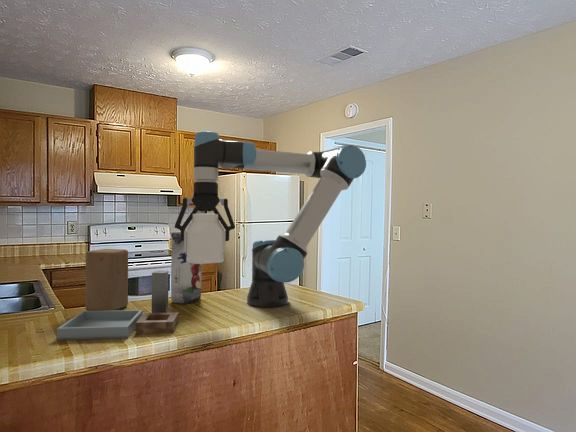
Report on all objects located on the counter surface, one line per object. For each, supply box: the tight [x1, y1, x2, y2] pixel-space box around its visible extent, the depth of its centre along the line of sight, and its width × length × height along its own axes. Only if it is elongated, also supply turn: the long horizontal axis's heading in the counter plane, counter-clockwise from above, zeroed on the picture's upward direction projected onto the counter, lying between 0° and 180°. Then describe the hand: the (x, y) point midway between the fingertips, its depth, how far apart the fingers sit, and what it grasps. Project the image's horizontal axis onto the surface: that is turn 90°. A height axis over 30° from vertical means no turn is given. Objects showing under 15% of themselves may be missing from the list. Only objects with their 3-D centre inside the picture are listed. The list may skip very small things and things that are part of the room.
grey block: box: [151, 270, 169, 313], centre depth 129 cm, size 4×4×14 cm
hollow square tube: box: [135, 312, 179, 334], centre depth 116 cm, size 10×10×3 cm
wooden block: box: [84, 248, 129, 311], centre depth 135 cm, size 10×10×20 cm
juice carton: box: [170, 231, 202, 305], centre depth 149 cm, size 9×10×27 cm
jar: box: [186, 213, 225, 265], centre depth 125 cm, size 12×10×15 cm
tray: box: [56, 309, 144, 341], centre depth 114 cm, size 18×18×3 cm
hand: (205, 251), depth 126 cm, fingers closed on jar, 11 cm apart
